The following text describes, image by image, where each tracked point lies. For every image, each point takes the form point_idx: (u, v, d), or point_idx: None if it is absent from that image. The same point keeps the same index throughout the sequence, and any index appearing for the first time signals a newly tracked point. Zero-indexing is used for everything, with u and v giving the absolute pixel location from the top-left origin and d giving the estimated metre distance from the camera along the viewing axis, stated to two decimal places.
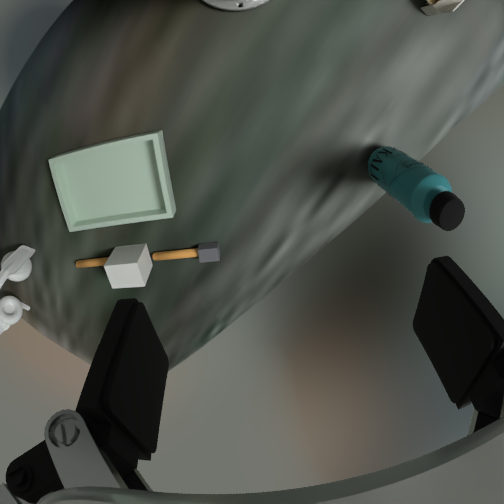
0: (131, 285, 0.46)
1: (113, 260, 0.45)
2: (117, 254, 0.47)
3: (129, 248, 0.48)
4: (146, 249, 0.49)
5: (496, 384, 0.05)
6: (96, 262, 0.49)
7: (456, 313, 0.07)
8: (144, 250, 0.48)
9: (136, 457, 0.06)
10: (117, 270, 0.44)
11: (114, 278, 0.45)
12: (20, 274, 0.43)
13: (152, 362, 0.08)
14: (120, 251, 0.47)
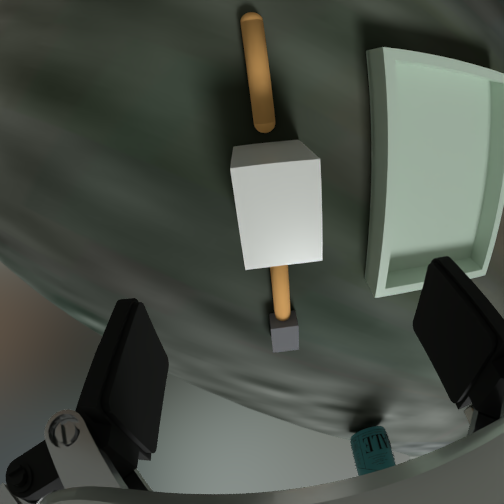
0: (246, 233, 0.16)
1: None
2: None
3: None
4: None
5: (496, 384, 0.05)
6: (264, 83, 0.16)
7: (456, 313, 0.07)
8: None
9: (136, 457, 0.06)
10: (301, 202, 0.16)
11: (272, 184, 0.15)
12: None
13: (152, 362, 0.08)
14: None
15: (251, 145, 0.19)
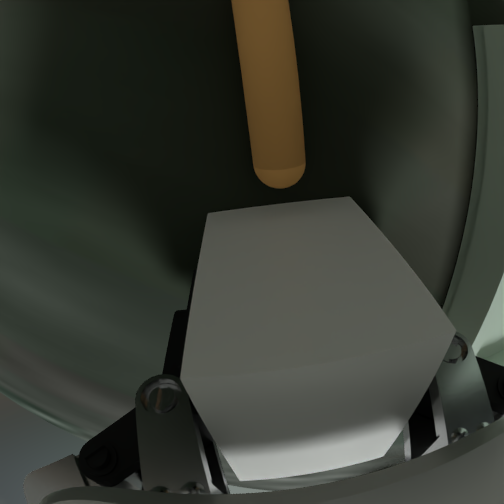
0: (240, 458, 0.06)
1: None
2: None
3: None
4: None
5: None
6: (282, 64, 0.06)
7: None
8: None
9: None
10: (375, 414, 0.05)
11: (311, 402, 0.05)
12: None
13: None
14: None
15: (248, 214, 0.09)
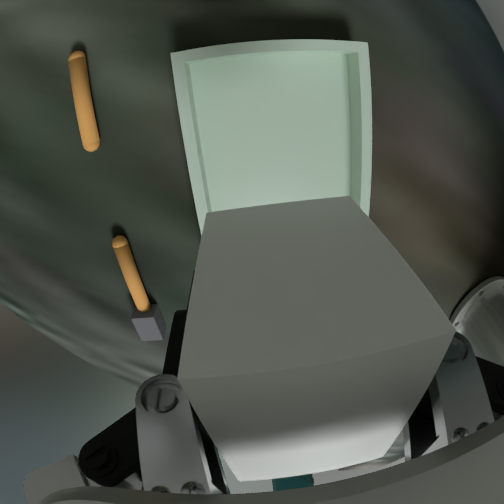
0: (238, 459, 0.06)
1: None
2: None
3: None
4: None
5: None
6: (83, 111, 0.18)
7: None
8: None
9: None
10: (374, 414, 0.05)
11: (310, 402, 0.05)
12: None
13: None
14: None
15: (246, 213, 0.09)
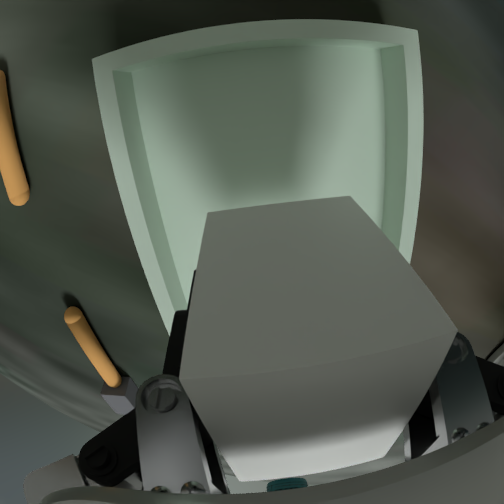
0: (239, 459, 0.06)
1: None
2: None
3: None
4: None
5: None
6: (2, 153, 0.11)
7: None
8: None
9: None
10: (376, 414, 0.05)
11: (311, 402, 0.05)
12: None
13: None
14: None
15: (247, 213, 0.09)
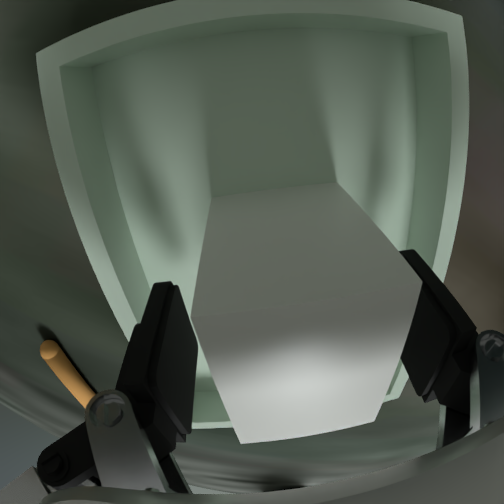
0: (240, 412, 0.07)
1: None
2: None
3: None
4: None
5: (457, 377, 0.06)
6: None
7: (417, 305, 0.07)
8: None
9: (174, 438, 0.07)
10: (360, 364, 0.06)
11: (300, 344, 0.06)
12: None
13: (186, 344, 0.09)
14: None
15: (247, 197, 0.10)
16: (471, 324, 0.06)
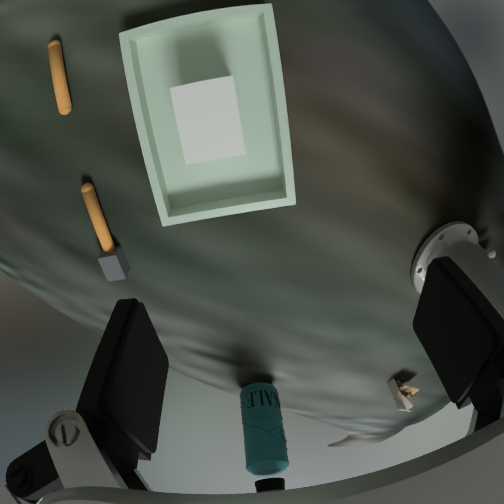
0: (184, 135, 0.20)
1: None
2: None
3: None
4: None
5: (496, 384, 0.05)
6: (59, 84, 0.20)
7: (456, 313, 0.07)
8: None
9: (136, 457, 0.06)
10: (222, 107, 0.19)
11: (199, 96, 0.19)
12: None
13: (152, 362, 0.08)
14: None
15: None
16: None
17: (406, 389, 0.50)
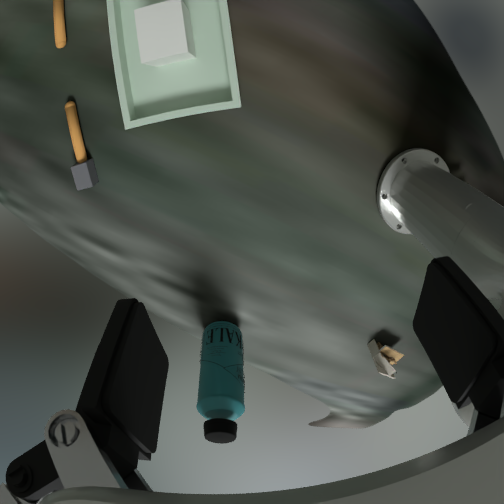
0: (141, 41, 0.21)
1: (184, 12, 0.21)
2: (187, 17, 0.23)
3: (191, 33, 0.25)
4: (188, 58, 0.27)
5: (496, 384, 0.05)
6: (58, 24, 0.22)
7: (456, 313, 0.07)
8: (190, 57, 0.26)
9: (136, 457, 0.06)
10: (171, 19, 0.20)
11: (155, 13, 0.20)
12: None
13: (152, 362, 0.08)
14: (188, 20, 0.24)
15: None
16: None
17: (388, 352, 0.50)
